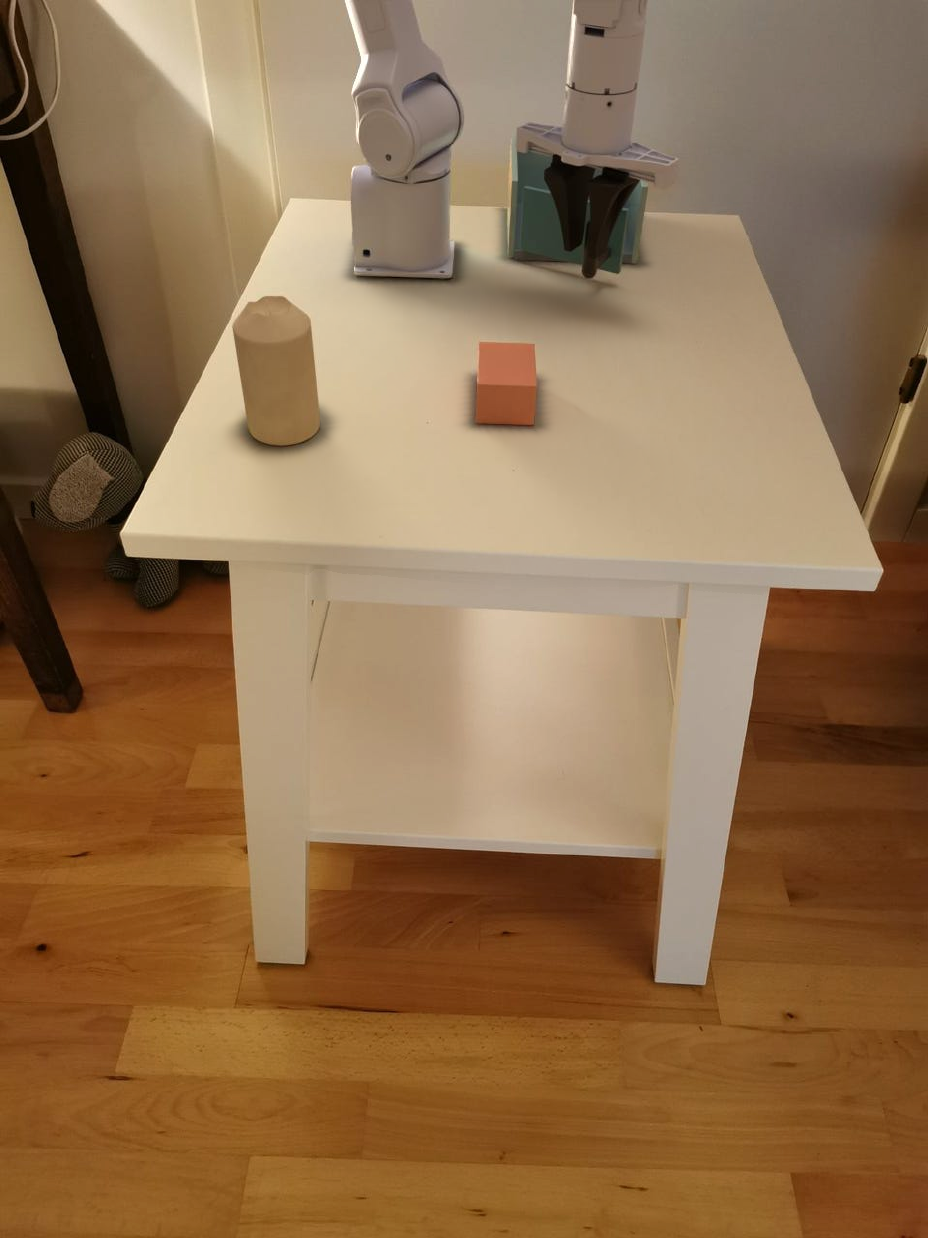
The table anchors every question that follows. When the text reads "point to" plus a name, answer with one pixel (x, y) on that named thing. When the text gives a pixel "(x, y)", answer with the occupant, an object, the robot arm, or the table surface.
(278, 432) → the candle
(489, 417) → the soap
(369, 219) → the robot arm
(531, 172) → the shower
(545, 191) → the shower door
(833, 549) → the table surface
